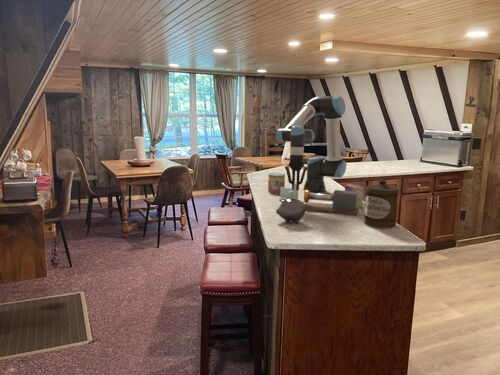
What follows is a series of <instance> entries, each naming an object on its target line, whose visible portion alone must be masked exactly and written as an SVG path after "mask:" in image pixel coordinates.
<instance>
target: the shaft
mask: <svg viewBox="0 0 500 375" xmlns="http://www.w3.org/2000/svg"><path fill="white" fill-rule="evenodd" d="M310 200H312V201H322V202H327V201H328V202H333V194H323V193H316V192H312V193H311V192H309V190H304V192H303V202H310Z"/></svg>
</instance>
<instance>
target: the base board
mask: <svg viewBox="0 0 500 375" xmlns="http://www.w3.org/2000/svg"><path fill="white" fill-rule="evenodd" d="M302 202H303V203H304V204H307V205H308V206H307V208H306V211H305V212H311V213H323V214H335V215H345V216H346V215H347V216H358V210H359V207H358V206H356V210H355V211H351V210H339V209H333V203H322V202H310V201H309V202H304V201H302Z"/></svg>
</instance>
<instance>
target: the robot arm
mask: <svg viewBox="0 0 500 375" xmlns="http://www.w3.org/2000/svg"><path fill="white" fill-rule="evenodd" d="M345 112H346V102H345V99H344V98H343V97H342V96H339V95H322V96H321V95H319V96H316V97H313V98H311V99H309V100H308V101H306V102H305V103H304V104H303V105H302V107H301V110H299V112H297V114H296V115H295V116H294V117H293V118H292V120H290V122H288V123H287V125H286V126H285V127H284V128H278V129H277V130H276V132H275V133H276V134H275V138H276V140H277V141H279V142H283V143H284V142H285V143H290V147H289V154H290V155H289V162H288V164H287V165H285V166H284V170H286V175H287V176H286V177H287V180H288V183H289V184H291V188H292V190H294V193H293V196H297V190H298V191H300V185H302V184H303V182H304V179H305V177H306V180H305V182H304V186H303V191H305V190H309V193H311V192H312V193H322V192H323V193H324V192H326V191H327V190H326V189H327V188H326V184H325V180H324V177H327V178H334V179H341V178H342V177H343V176H344V175H345V173H346V170H347V162H346V161H345V160H344V157H343V156H342V155H341V127H340V126H341V124H340V123H341V122H340V121H341V118H342V117H343V115H345ZM317 115H321V116H322V115H323V119H324V120H325V125H326V126H325V128H326V150H327V152H326V153H327V155H326V156H317V157H309V158H308V159H307V163H306V165H305V164H304V163H305V162H304V153H305V151H304V150H305V148H304V147H305V144H306V143H307V144H309V143H312V142H313V141H314V140H315V138H316V136H315V132H314V130H312V129H309V128H307V129H306V128H305V127H304V126H305V125H306V123H307V122H308V121H309V120H310V119H311V118H314V116H317ZM290 170H291V171H290ZM301 170H303V171H302V172H301ZM300 172H301V173H302V174H301V173H300ZM291 174H292V176H291ZM300 174H301V177H300ZM305 175H306V176H305Z"/></svg>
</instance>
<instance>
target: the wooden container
mask: <svg viewBox="0 0 500 375" xmlns="http://www.w3.org/2000/svg"><path fill="white" fill-rule="evenodd" d="M365 188H366V189H365V200H364V201H365V203H364V212H363V216H364V217H363V224H364V225H365V226H369V227H372V228H376V229H391V228H395V227H396V226H397V218H398V217H397V216H398V197H399V188H398V187H396V186H393V185H387V180H386V179H382V178H381V179H379V180H378V184H370V185H367V186H365Z"/></svg>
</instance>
